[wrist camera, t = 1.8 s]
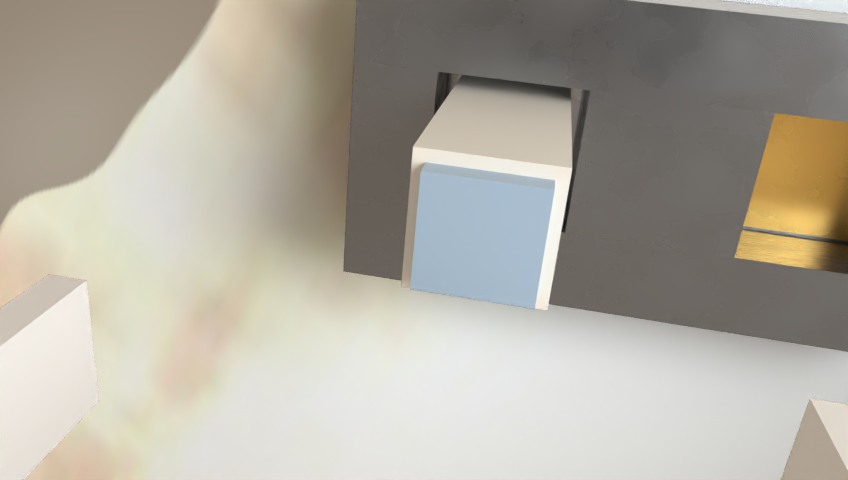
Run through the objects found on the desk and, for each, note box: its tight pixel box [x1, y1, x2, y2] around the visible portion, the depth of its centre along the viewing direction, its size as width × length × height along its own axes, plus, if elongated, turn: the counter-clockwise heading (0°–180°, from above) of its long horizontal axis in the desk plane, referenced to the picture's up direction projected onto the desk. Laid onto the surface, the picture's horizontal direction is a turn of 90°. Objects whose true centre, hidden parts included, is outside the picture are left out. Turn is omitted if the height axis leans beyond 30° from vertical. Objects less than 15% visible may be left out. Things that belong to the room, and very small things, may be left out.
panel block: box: [343, 0, 848, 352], centre depth 30 cm, size 24×12×4 cm, turn 85°
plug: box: [401, 75, 572, 310], centre depth 26 cm, size 4×4×12 cm
